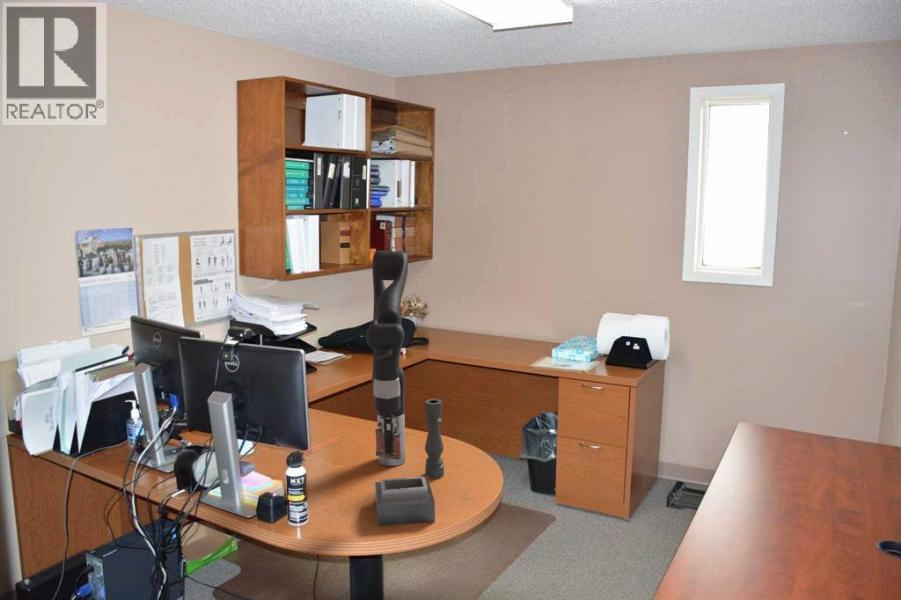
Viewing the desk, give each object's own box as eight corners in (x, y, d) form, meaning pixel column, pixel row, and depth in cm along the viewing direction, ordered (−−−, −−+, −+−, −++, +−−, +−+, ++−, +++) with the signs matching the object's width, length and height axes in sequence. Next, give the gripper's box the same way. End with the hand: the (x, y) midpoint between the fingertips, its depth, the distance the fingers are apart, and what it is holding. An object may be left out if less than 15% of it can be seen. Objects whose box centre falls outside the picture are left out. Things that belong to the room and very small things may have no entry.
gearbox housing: (375, 501, 214) (374, 474, 212) (428, 497, 216) (427, 470, 215) (378, 526, 198) (377, 497, 197) (434, 521, 200) (434, 493, 199)
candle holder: (441, 479, 229) (440, 405, 224) (423, 478, 230) (421, 404, 226) (445, 471, 235) (444, 399, 230) (427, 470, 236) (426, 398, 232)
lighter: (403, 456, 203) (403, 423, 202) (397, 460, 200) (397, 426, 199) (379, 451, 207) (378, 419, 205) (373, 455, 204) (372, 422, 202)
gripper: (373, 386, 207) (374, 441, 210) (374, 401, 193) (375, 460, 196) (398, 385, 208) (400, 440, 211) (401, 400, 194) (403, 459, 197)
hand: (388, 449), depth 203 cm, fingers closed on lighter, 4 cm apart
